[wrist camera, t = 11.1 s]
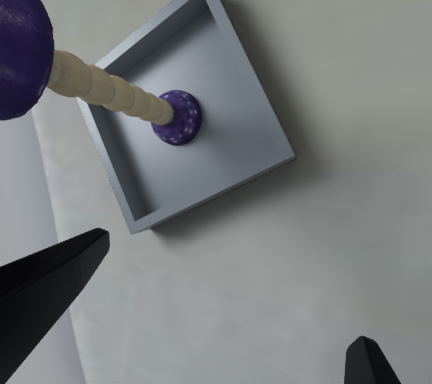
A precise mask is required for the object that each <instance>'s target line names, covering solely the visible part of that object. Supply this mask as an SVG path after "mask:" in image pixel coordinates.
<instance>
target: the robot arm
mask: <svg viewBox="0 0 432 384" xmlns="http://www.w3.org/2000/svg"><path fill="white" fill-rule="evenodd" d="M109 247H110V239H109V232H108V231H106V230H104V229H101V228H95V229H93V230H90V231H88V232H85V233H83V234H80V235H78V236H75V237H73V238H70V239H68V240H65V241H63V242H60V243H58V244H56V245H53V246H51V247H48V248H46V249H43V250H41V251H38V252H36V253H33V254H31V255H28V256H26V257H23V258H21V259H18V260H16V261H13V262H11V263H8V264H6V265H4V266H1V267H0V384H5V383H6V382H7V381H8V379H9V378H10V377H11V376H12V375H13V373H14V372H15V371H16V370H17V369H18V367H19V366H20V365H21V364H22V363H23V361H24V360H25V359H26V358H27V357H28V355H29V354H30V353H31V352H32V350H33V349H34V348H35V347H36V346H37V344H38V343H39V342H40V341H41V339H42V338H43V337H44V336H45V335H46V334H47V332H48V331H49V330H50V329H51V327H52V326H53V325H54V324H55V323H56V321H57V320H58V319H59V318H60V317H61V315H62V314H63V313H64V312H65V311H66V309H67V308H68V307H69V306H70V305H71V303H72V302H73V301H74V300H75V298H76V297H77V296H78V295H79V294H80V292H81V291H82V290H83V288H84V287H85V286H86V284H87V283H88V281H89V280H90V278H91V277H92V275H93V274H94V272H95V271H96V269H97V268H98V266H99V265H100V263H101V262H102V260H103V259H104V257H105V256H106V254H107V253H108V251H109ZM344 384H401V382H400V381H399V379H398V377H397V376H396V374H395V372H394V371H393V369H392V367H391V366H390V364H389V362H388V361H387V359H386V357H385V356H384V354H383V352H382V350H381V349H380V347H379V345H378V344H377V343H376V341H374V340H373V339H370V338H368V337H365V336H360V337H358V338H357V339H356V340H355V341H354V342H353V343H352V344H351V345H350V346H349V347H348V349H347V352H346V362H345V377H344Z"/></svg>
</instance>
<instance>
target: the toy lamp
mask: <svg viewBox="0 0 432 384" xmlns="http://www.w3.org/2000/svg"><path fill="white" fill-rule="evenodd" d="M45 87H48V88H49V89H50V90H52V91H53V92H55V93H57V94H59V95H62V96H66V97H79V98H80V99H81V100H83V101H84V102H86V103H89V104H93V105H103V106H104V107H105V108H107V109H109V110H111V111H115V112H122V113H124V114H125V115H127V116H130V117H138V118H140V119H141V120H144V121H150V122H151V126H152V129H153V131H154V133H155V134H156V135H157V136H158V137H159V138H160V139H161V140H162V141H163V142H165V143H167V144H170V145H183V144H185V143H188V142H189V141H191V140H192V139H193V138H194V137H195V136H196V134H197V132H198V131H199V129H200V126H201V122H202V112H201V108H200V105H199V103H198V101H197V100H196V99H195V98H194V97H193V95H191V94H189V93H187V92H185V91H181V90H170V91H167V92H165V93H163V94H161V95H160V96H159V97H158V98H157V97H156V96H155V95H154V94H152V93H149V92H145V91H144V90H143V89H141V88H140V87H138V86H136V85H131V84H129V83H128V82H127V81H125V80H124V79H122V78H121V77H118V76H115V75H109V74H108V73H107V72H106V71H104V70H103V69H101V68H99V67H97V66H95V65H91V64H85V63H84V62H83V61H82V60H81V59H79V58H78V57H77V56H75V55H73V54H71V53H69V52H66V51H60V50H55V49H54V39H53V27H52V24H51V21H50V18H49V16H48V13H47V11H46V9H45V7H44V5H43V3H42V2H41V0H0V120H10V119H13V118H17V117H21V116H22V115H25V114H26V112H27V111H28V110H30V109H31V108H32V107H33V106H34V105H35V104H36V103H37V102H38V100H39V98H40V97H41V95H42V94H43V91H44V89H45Z"/></svg>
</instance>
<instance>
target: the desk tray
mask: <svg viewBox="0 0 432 384" xmlns="http://www.w3.org/2000/svg"><path fill="white" fill-rule="evenodd" d="M95 66H97V67H99V68H101V69H103V70H104V71H106V72H107V73H108V74H109V75H115V76H118V77H121V78H122V79H124V80H125V81H127V82H128V83H129V84H131V85H136V86H138V87H140V88H141V89H143V90H144V91H145V92H149V93H152V94H154V95H155V96H156V97H157V98H158V97H159V96H160V95H161V94H163V93H165V92H167V91H170V90H181V91H185V92H187V93H189V94H191V95H193V97H194V98H195V99H196V100H197V101H198V103H199V105H200V108H201V112H202V122H201V126H200V129H199V131H198V132H197V134H196V136H195V137H194V138H193V139H192V140H191V141H189V142H188V143H185V144H183V145H170V144H167V143H165V142H163V141H162V140H161V139H160V138H159V137H158V136H157V135H156V134H155V133H154V131H153V129H152V126H151V122H150V121H144V120H141V119H140V118H138V117H130V116H127V115H125V114H124V113H122V112H115V111H111V110H109V109H107V108H105V107H104V106H103V105H93V104H89V103H86V102H84V101H83V100H81V99H80V98H79V97H76V98H77V101H78V103H79V106H80V108H81V111H82V113H83V116H84V118H85V121H86V123H87V126H88V128H89V131H90V133H91V136H92V138H93V141H94V143H95V146H96V148H97V151H98V153H99V156H100V158H101V161H102V163H103V166H104V168H105V171H106V173H107V176H108V178H109V181H110V183H111V186H112V188H113V191H114V193H115V196H116V198H117V201H118V203H119V206H120V208H121V211H122V213H123V216H124V218H125V221H126V223H127V226H128V228H129V231H130V233H131V235H132V234H135V233H138V232H142V231H145V230H148V229H151V228H153V227H155V226H157V225H159V224H161V223H163V222H165V221H167V220H170V219H172V218H174V217H176V216H178V215H180V214H182V213H184V212H186V211H188V210H190V209H192V208H194V207H197V206H199V205H201V204H203V203H205V202H207V201H209V200H211V199H213V198H215V197H217V196H219V195H222V194H224V193H226V192H228V191H230V190H232V189H234V188H236V187H238V186H240V185H242V184H244V183H246V182H249V181H251V180H253V179H255V178H257V177H259V176H261V175H263V174H265V173H267V172H269V171H271V170H273V169H276V168H278V167H280V166H282V165H284V164H286V163H288V162H290V161H292V160H294V159H296V158H297V156H296V154H295V152H294V150H293V148H292V146H291V144H290V142H289V140H288V138H287V135H286V133H285V131H284V129H283V127H282V125H281V123H280V121H279V119H278V117H277V115H276V113H275V111H274V109H273V107H272V105H271V102H270V100H269V98H268V96H267V94H266V92H265V90H264V88H263V86H262V84H261V82H260V80H259V78H258V76H257V74H256V72H255V69H254V67H253V65H252V63H251V61H250V59H249V57H248V55H247V53H246V51H245V49H244V47H243V45H242V43H241V41H240V39H239V36H238V34H237V32H236V30H235V28H234V26H233V24H232V22H231V20H230V18H229V16H228V14H227V12H226V10H225V8H224V6H223V4H222V1H221V0H172V1H171V2H170V3H169V4H167V5H166V6H165V7H164V8H163V9H161V10H160V11H159V12H158V13H157V14H155V15H154V16H153V17H152V18H151V19H149V20H148V21H147V22H146V23H144V24H143V25H142V26H141V27H140V28H138V29H137V30H136V31H135V32H134V33H132V34H131V35H130V36H129V37H128V38H126V39H125V40H124V41H123V42H122V43H120V44H119V45H118V46H117V47H116V48H114V49H113V50H112V51H111V52H110V53H108V54H107V55H106V56H105V57H104V58H102V59H101V60H100V61H99V62H97V63H96V64H95Z"/></svg>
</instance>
